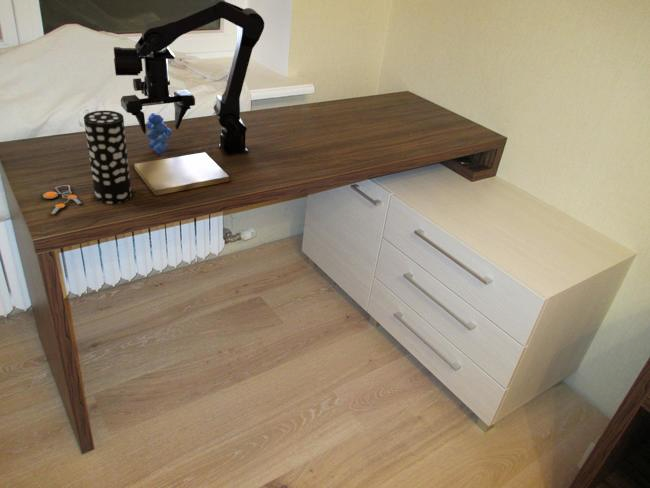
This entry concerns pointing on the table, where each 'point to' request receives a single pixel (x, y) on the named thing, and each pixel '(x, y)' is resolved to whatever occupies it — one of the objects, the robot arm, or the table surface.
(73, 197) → the key chain
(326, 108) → the table surface
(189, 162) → the board
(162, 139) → the grapes
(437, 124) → the table surface
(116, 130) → the spotted tube
